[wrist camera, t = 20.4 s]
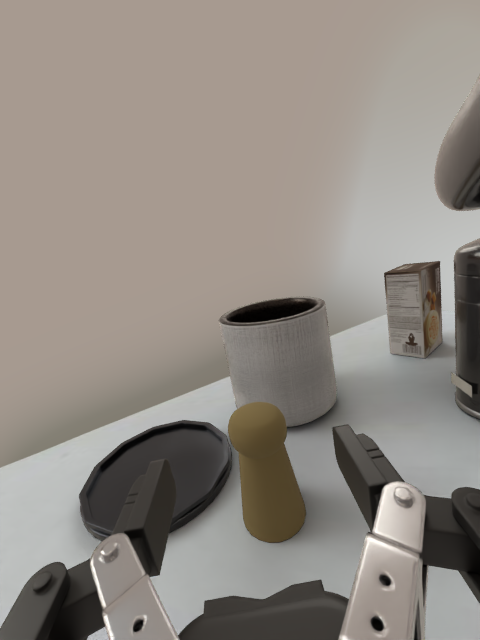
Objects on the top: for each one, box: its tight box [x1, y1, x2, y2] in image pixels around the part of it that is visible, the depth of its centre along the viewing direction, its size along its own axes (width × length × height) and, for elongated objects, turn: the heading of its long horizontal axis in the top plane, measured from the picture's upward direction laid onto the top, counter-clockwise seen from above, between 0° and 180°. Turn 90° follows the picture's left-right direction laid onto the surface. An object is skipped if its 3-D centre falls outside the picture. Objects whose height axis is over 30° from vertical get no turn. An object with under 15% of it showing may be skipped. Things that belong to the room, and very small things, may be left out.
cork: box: [228, 402, 306, 543], centre depth 26 cm, size 6×6×11 cm
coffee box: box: [384, 261, 442, 358], centre depth 54 cm, size 9×6×16 cm
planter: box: [219, 297, 337, 427], centre depth 45 cm, size 16×16×16 cm
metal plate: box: [79, 420, 232, 541], centre depth 36 cm, size 18×18×1 cm
